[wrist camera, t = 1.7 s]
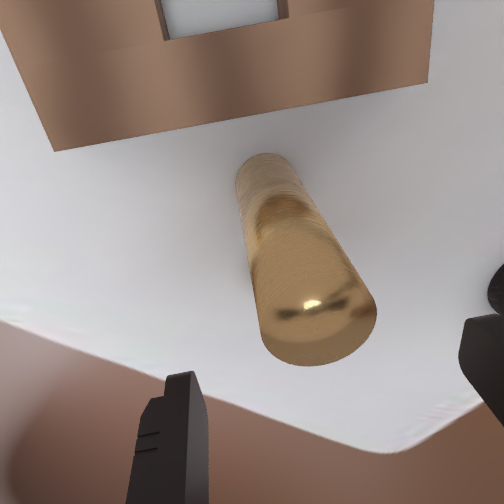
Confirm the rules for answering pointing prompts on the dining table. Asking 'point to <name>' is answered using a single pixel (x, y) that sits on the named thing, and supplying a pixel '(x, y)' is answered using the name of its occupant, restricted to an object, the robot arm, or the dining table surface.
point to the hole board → (204, 62)
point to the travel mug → (497, 292)
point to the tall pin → (299, 269)
